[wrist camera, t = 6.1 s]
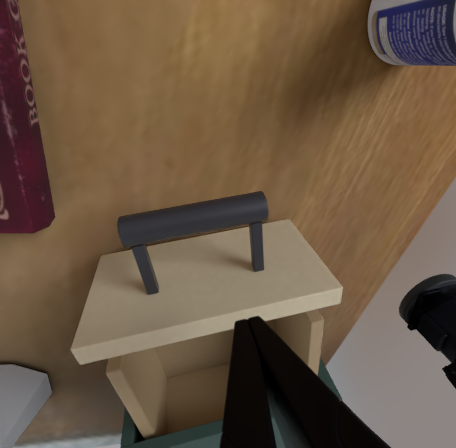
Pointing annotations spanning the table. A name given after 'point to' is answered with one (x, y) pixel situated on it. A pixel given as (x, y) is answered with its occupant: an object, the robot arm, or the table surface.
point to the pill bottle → (413, 31)
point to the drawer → (198, 305)
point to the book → (20, 135)
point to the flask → (20, 400)
